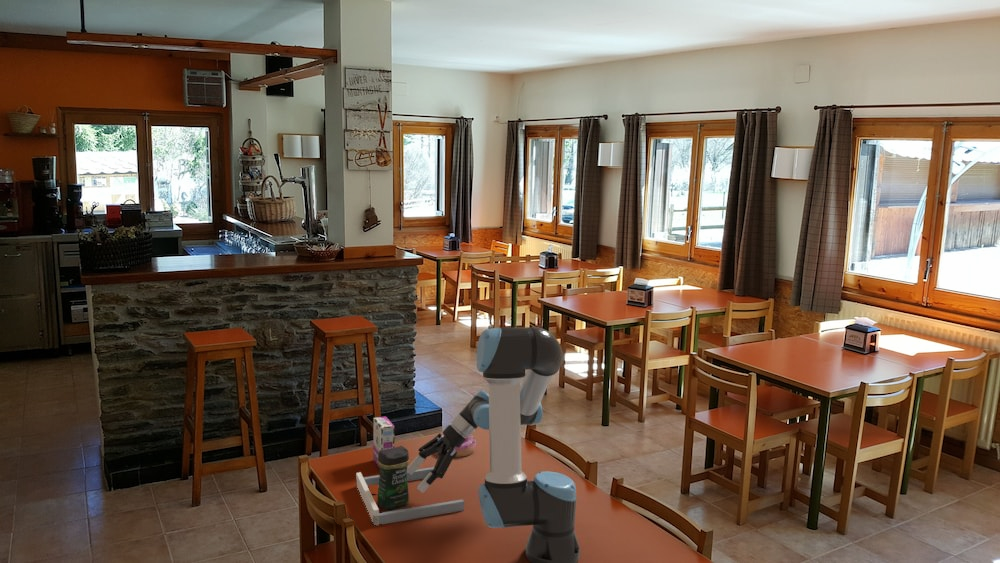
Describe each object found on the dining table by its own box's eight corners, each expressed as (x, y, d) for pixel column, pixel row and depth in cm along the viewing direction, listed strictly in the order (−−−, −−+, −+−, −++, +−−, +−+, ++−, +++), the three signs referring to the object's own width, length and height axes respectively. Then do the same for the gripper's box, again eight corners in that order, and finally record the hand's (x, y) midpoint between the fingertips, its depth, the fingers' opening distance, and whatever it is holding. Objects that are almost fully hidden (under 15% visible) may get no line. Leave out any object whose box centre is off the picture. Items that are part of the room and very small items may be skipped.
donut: (447, 461, 264) (448, 448, 263) (432, 447, 276) (432, 434, 275) (482, 454, 270) (483, 441, 269) (465, 440, 283) (466, 428, 282)
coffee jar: (385, 512, 225) (385, 456, 222) (374, 502, 231) (373, 447, 228) (412, 504, 230) (413, 449, 227) (401, 494, 237) (401, 441, 233)
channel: (463, 510, 228) (464, 495, 227) (374, 525, 217) (373, 510, 216) (438, 474, 252) (438, 461, 251) (356, 486, 242) (356, 472, 241)
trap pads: (416, 516, 223) (416, 515, 223) (384, 521, 220) (384, 520, 220) (397, 482, 245) (397, 482, 245) (367, 487, 241) (367, 486, 241)
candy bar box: (395, 470, 255) (395, 426, 252) (381, 472, 252) (381, 428, 250) (386, 458, 265) (386, 415, 262) (372, 460, 262) (372, 417, 260)
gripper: (479, 452, 227) (433, 504, 224) (453, 424, 250) (411, 471, 247) (463, 438, 224) (416, 491, 221) (439, 411, 247) (396, 459, 244)
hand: (413, 481), depth 234 cm, fingers open, 13 cm apart
